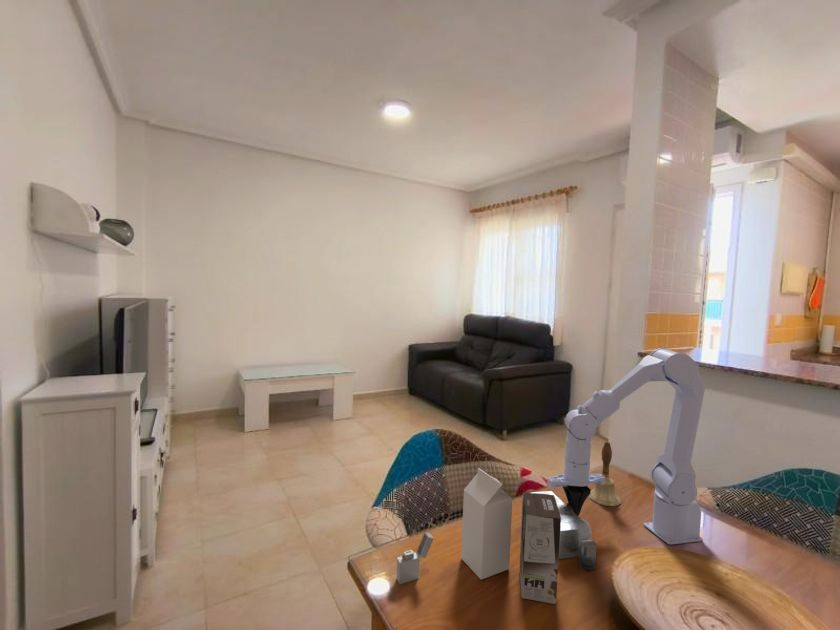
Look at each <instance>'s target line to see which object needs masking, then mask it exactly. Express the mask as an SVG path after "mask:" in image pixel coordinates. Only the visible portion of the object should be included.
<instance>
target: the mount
mask: <svg viewBox="0 0 840 630" xmlns="http://www.w3.org/2000/svg"><path fill="white" fill-rule="evenodd" d="M531 493H540V494H549V495H554V497H555V500H556V503H557V507H558V510H559V513H560V516H561V527H560V544H559V559H560V560H562V559H570V558H577V557H579V558H580V542H581V539H591V538H590V527H589V526H588V525H587V524H586V523H585V522H584V521H583V520H582V519H583V518H580V516H577V515H576V514H575V513H574V512H573V511H572V510H571V509H570V508H569V507H568V506H567V505H566V504H565V503H566V502H564V501H562V499H561V498H560V497H558V496H557V495H556V494H555V493H554V492H553V491H552V490H549V491H548V490H547V491H546V490H545V491H535V492H531Z"/></svg>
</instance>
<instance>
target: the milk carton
mask: <svg viewBox="0 0 840 630" xmlns="http://www.w3.org/2000/svg"><path fill="white" fill-rule="evenodd" d="M502 486H503V483H502V481H499V480H498V479H497V478H496V477H493V476H491V475H490V474H488V472H487V473H486V471H483V470H482V469H481V468H480V467H478V468H477V473H476V475H474V477H473V478H472V479H471V480H470V482H469V483H468V484H467V485H466V486H465V488H464V489H463V500H462V501H463V503H462V504H463V505H462V506H463V507H462V534H461V558H460V559H461V560H462V561H463V562H464V563H465V564H466V565H467V566H468V567H469V569H470V570H471V571H472V572H473V573H474V574H475V575H476V576H477V578H479V580H485V579H487V578H489V577H492V576H495V575H497V574H501V573H503V572H506V571H508V570H510V560H511V559H510V558H511V539H512V536H511V535H512V519H513V517H512V516H513V498H512V497H511V496H510V495H509V494H508V493H506V491H504V490H503V489H502V488H501V487H502Z"/></svg>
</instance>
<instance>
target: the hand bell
mask: <svg viewBox="0 0 840 630" xmlns="http://www.w3.org/2000/svg"><path fill="white" fill-rule="evenodd" d="M612 457H613V451H612V446H611V442H610V441H604V444H603V445H602V449H601V460H602V471H601V473H602V474H601V475H602V476H604V477H605V485H600V484H594V486H593V488H592V490H591V494H590V495H589V496H588V498H589V499H590V500H591V501H592V502H594V503H596V504H598V505H601V506H606V507H617V506H620V505H621V504H622V501H621V498H620V497H619V496H618V494H617V492H616V488H615V481H614V480H613V479H612V478H611V477H610V464H611V461H612Z"/></svg>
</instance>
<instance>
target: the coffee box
mask: <svg viewBox="0 0 840 630" xmlns="http://www.w3.org/2000/svg"><path fill="white" fill-rule="evenodd" d="M521 500H522V502H521V505H522V506H521V527H520V545H519V546H520V551H519V552H520V554H519V577H520V578H519V579H520V589H521V590H520V594H521V598H522V599H524V600H525V599H527V600H531V601H537V602H541V603H548V604H553V605H555V604H556V603H557V591H558V590H557V589H558V578H559V577H558V575H559V574H558V573H559V561H560V560H559V544H560V527H561V516H560V513H559V510H558V507H557V503H556V500H555V497H554V495H549V494H540V493H532V492H528V491H527V492H526V491H522V499H521Z"/></svg>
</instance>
